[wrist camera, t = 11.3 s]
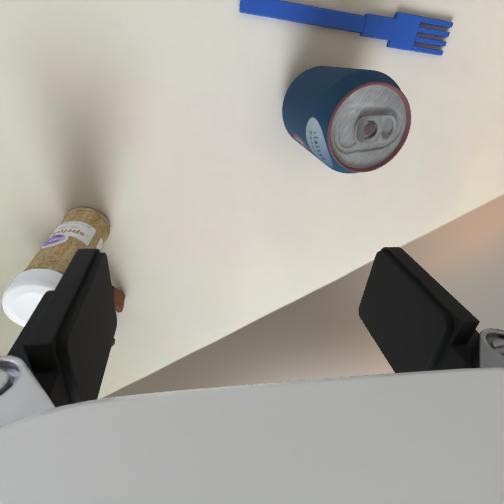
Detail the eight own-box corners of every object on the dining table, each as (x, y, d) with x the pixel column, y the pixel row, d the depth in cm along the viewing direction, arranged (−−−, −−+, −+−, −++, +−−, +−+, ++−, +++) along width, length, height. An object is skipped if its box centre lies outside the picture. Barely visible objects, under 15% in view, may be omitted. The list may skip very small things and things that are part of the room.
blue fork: (238, 22, 28) (239, 21, 27) (241, -17, 26) (242, -18, 26) (439, 55, 31) (442, 55, 31) (450, 22, 30) (453, 22, 30)
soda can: (278, 145, 33) (316, 184, 23) (279, 67, 30) (324, 72, 20) (343, 141, 34) (407, 177, 24) (352, 64, 31) (431, 68, 21)
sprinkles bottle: (89, 197, 33) (35, 271, 22) (120, 231, 36) (85, 314, 24) (53, 220, 34) (-18, 303, 22) (86, 252, 36) (37, 342, 25)
